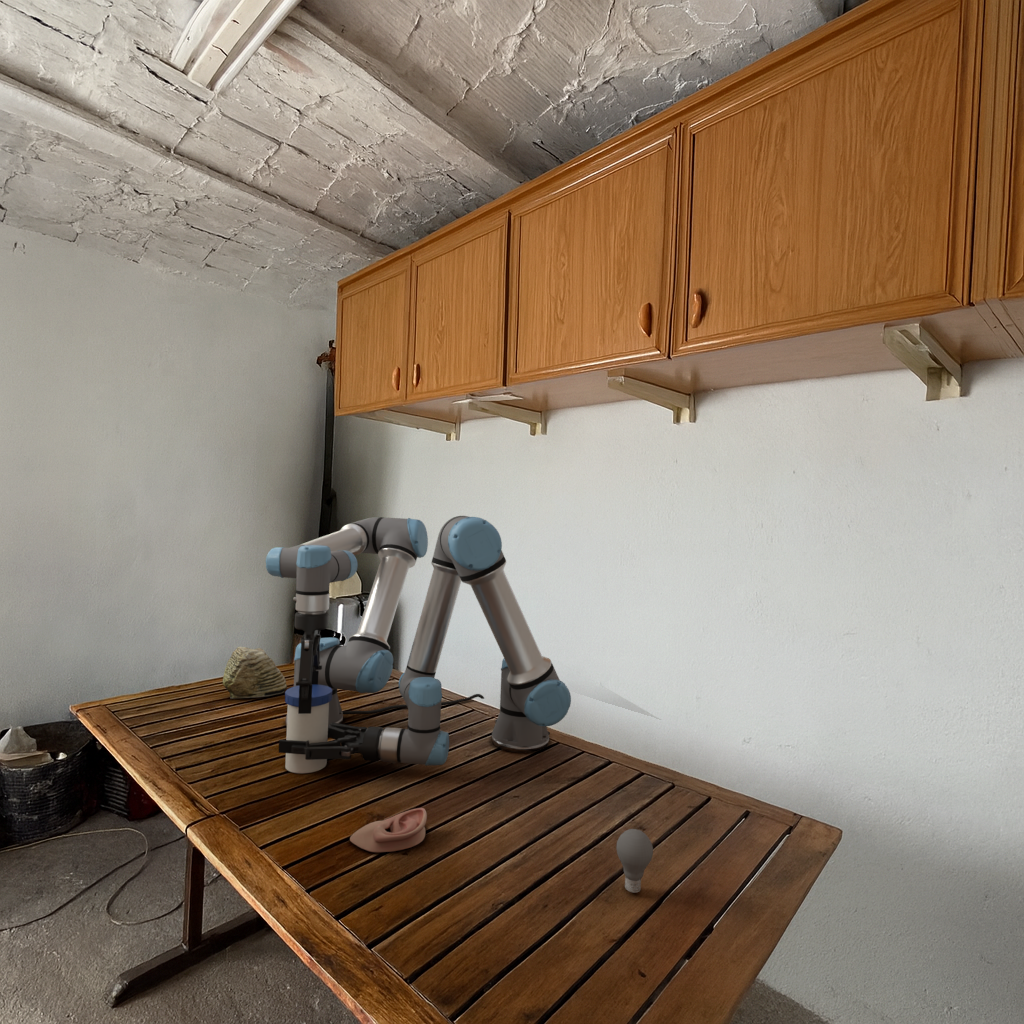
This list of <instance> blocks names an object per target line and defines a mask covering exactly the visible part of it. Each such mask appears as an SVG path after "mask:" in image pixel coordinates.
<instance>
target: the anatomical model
mask: <svg viewBox="0 0 1024 1024" xmlns="http://www.w3.org/2000/svg"><path fill="white" fill-rule="evenodd" d="M427 814H428V813H427V811H426V809H425V808H424V807H417V808H412V809H409V810H406V811H403V812H401V813H397V814H396V815H393V816H390V817H388V818H386V819H384V820H377V821H373V822H370V823H368V824H365V825H364V826H362V827H360V828H359V829H358V830H355V832H353V834H351V835H350V837H349V841H350V842H351V843H352V844H353V845H355V846H356V847H358V848H360V849H362V850H365V851H366V852H370V853H386V852H387V853H388V852H389V853H390V852H396V851H403V850H406V849H409V848H412V847H415V846H417V845H419V844H421V843H422V842H423V841H424V840H425V837H426V827H425V826H426V824H427V820H428V819H427V817H428V815H427Z"/></svg>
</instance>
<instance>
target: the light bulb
mask: <svg viewBox="0 0 1024 1024" xmlns="http://www.w3.org/2000/svg"><path fill="white" fill-rule="evenodd" d="M615 849H616V854H617V857H618V859H619V861H620V863H621V865H622V867H623V873H624V874H623V875H624V876H625V878H624V888H625V890H627V891H628V892H630V893H634V894H635V893H639V892H640V891H641V889H642V887H641V886H642V879H643V877H644V875H645V871H646V868H647V867H648V866H649V864H650V863H651V861H652V859H653V855H654V847H653V843H652V841H651V838H649V836H648V835H647V834H646V833H645V832H643V831H642V830H641V829H636V828H629V829H627V830H625V831H623V832H622V833H621V834H620V835H619V837H618V839H617V841H616V847H615Z"/></svg>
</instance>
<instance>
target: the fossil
mask: <svg viewBox="0 0 1024 1024" xmlns="http://www.w3.org/2000/svg"><path fill="white" fill-rule="evenodd" d="M222 676H223V677H222V685H223V687H224V688H225V690H226V691H228V693H229V698H230V699H250V698H264V697H271V696H275V695H281V694H284V693H285V692H286V690H287V687H288V686H287V680H286V678H285V676H284V674H283V673H282V672H281V669H279V668H278V667H277V665H276V663H275V662H274V660H273V659H272V658H271V657H270V656H269V655H268V654H267V653H266V652H265V650H264V649H263V648H260V647H258V648H251V647H247V646H246V647H245V646H238V647H237V648H236V649H235V650H233V651H232V653H231V656H230V657H229V659H228V660H227V663H226V666H225V668H224V671H223V675H222Z"/></svg>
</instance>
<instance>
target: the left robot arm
mask: <svg viewBox="0 0 1024 1024" xmlns="http://www.w3.org/2000/svg"><path fill="white" fill-rule="evenodd" d="M428 546H429V538H428V532H427V528H426V525H425V523H424V522H423V521H422V520H420V519H416V518H410V517H408V518H403V517H402V518H401V517H386V516H385V517H384V516H373V517H368V518H364V519H359V520H357V521H354V522H351V523H346V524H344V525H343V526H342V527H341V528H340V529H339V530H338V531H334V532H332V533H330V534H326V535H323V536H320V537H317V538H315V539H312V540H308V541H307V542H304V543H301V544H298V545H294V546H291V547H285V546H281V547H280V546H279V547H273V548H271V549H270V550H269V551H268V553H267V554H266V557H265V569H266V571H267V573H268V574H269V575H271V576H272V577H279V578H281V579H283V578H285V579H296V583H295V584H296V587H295V588H296V589H295V596H293V598H292V601H294V602H295V610H296V612H295V614H294V628H295V630H298V631H303V632H304V633H303V635H302V637H301V638H300V642H299V643H298V644H297V645H296V647H295V652H294V653H295V654H294V659H293V660H294V672H293V687H295V686H299V708H298V714H311V705H312V684H317V685H325V686H328V687H330V688H331V689H332V700H331V701H330V702H329V715H328V725H330V723H338V724H343V722H344V715H345V716H347V715H372V714H373V715H374V714H378V713H382V712H385V711H391V710H395V709H406V708H407V709H408V707H407V705H406V704H396V705H389V706H385V707H381V708H378V709H371V710H343V709H342V706H341V702H340V699H339V695H338V690H342V691H350V692H358V693H360V694H366V693H367V694H376V693H379V692H380V691H381V690H383V689H384V687H385V686H386V685H387V684H388V682H389V680H390V678H391V675H392V673H393V670H394V665H393V664H394V656H393V653H392V652H391V646H390V645H389V643H388V638H389V635H390V632H391V628H392V626H393V625H392V624H393V622H394V619H395V615H396V611H397V608H398V605H399V603H400V598H401V595H402V592H403V588H404V585H405V582H406V578H407V575H408V572H409V569H411V568H414V566H415V565H416V563H417V560H418V558H419V559H421V558H424V557H426V554H427V552H428ZM360 554H371V555H373V554H374V555H377V556H378V558H379V560H380V562H379V565H378V567H377V571H376V574H375V577H374V580H373V584H372V586H371V589H370V592H369V596H368V598H367V601H366V604H365V607H364V611H363V613H362V616H361V620H360V623H359V626H358V629H357V631H356V633H354V634H352V635H350V636H349V638H348V641H347V644H346V645H341V641H340V639H339V638H337V637H322V635H321V631H322V630H325V629H327V628H328V627H329V612H328V610H329V609H330V595H331V593H330V586H331V585H330V584H332V583H338V582H344V581H346V580H348V579H351V578H353V576H355V574H356V573H357V570H358V559H357V558H356V556H357V555H360ZM464 698H465V699H464ZM464 698H459V699H454V700H449V701H448V700H447V701H441V706H448V705H449V706H450V705H454V704H459V703H465V702H468V701H471V700H473V699H475V698H480V699H482V700H484V699H485V697H484V695H483V694H481V693H475V694H473V695H472V694H471V696H468V697H464ZM285 726H286V727H287V714H286V715H285Z"/></svg>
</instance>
